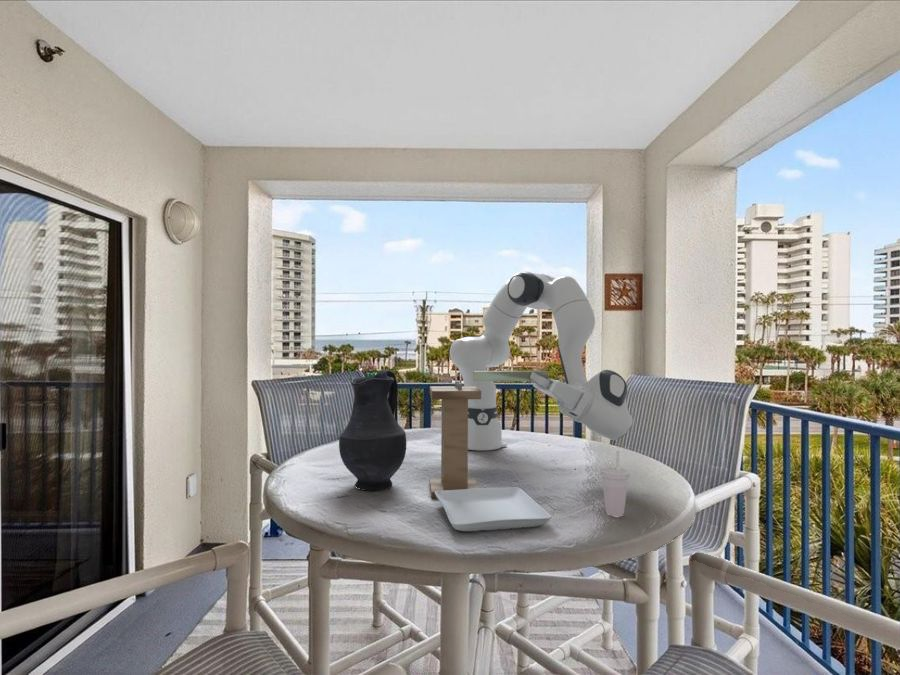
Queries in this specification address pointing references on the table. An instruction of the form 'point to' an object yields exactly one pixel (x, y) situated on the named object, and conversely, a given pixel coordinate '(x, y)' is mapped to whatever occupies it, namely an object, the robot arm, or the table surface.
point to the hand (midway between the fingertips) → (528, 374)
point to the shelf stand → (454, 437)
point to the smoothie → (615, 488)
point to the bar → (506, 375)
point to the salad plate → (491, 509)
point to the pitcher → (373, 432)
